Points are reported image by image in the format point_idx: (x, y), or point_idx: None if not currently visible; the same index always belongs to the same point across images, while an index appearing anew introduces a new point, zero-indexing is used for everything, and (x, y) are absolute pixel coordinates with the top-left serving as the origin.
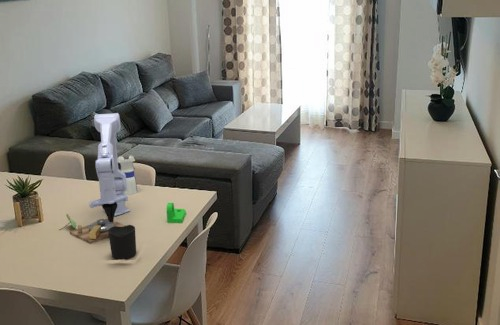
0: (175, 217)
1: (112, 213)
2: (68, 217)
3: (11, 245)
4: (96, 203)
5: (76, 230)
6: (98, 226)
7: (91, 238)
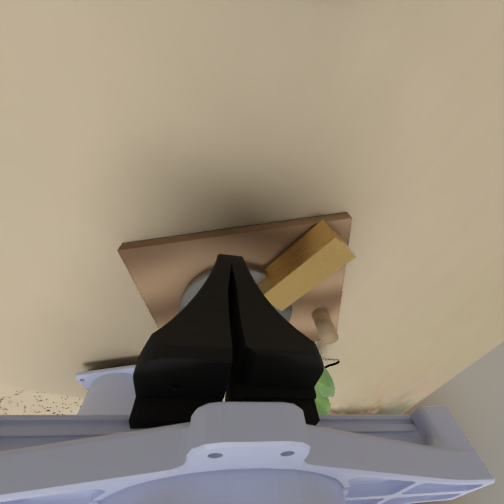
0: None
1: (221, 294)
2: (315, 400)
3: (480, 345)
4: (428, 464)
5: (315, 334)
6: (276, 293)
7: (337, 233)
